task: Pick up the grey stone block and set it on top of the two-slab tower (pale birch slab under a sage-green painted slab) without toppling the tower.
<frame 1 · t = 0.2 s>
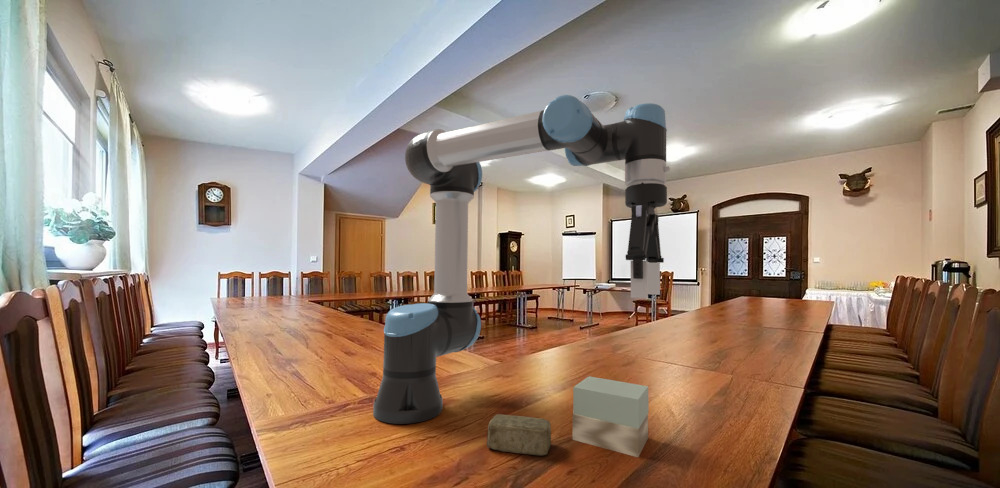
hand: (646, 296, 70), 27 cm above the table, fingers open, 13 cm apart
stone block: (519, 449, 67), on the table
tower top: (611, 413, 71), point 5 cm above the table, touching tower base
tower base: (610, 440, 71), on the table, touching tower top
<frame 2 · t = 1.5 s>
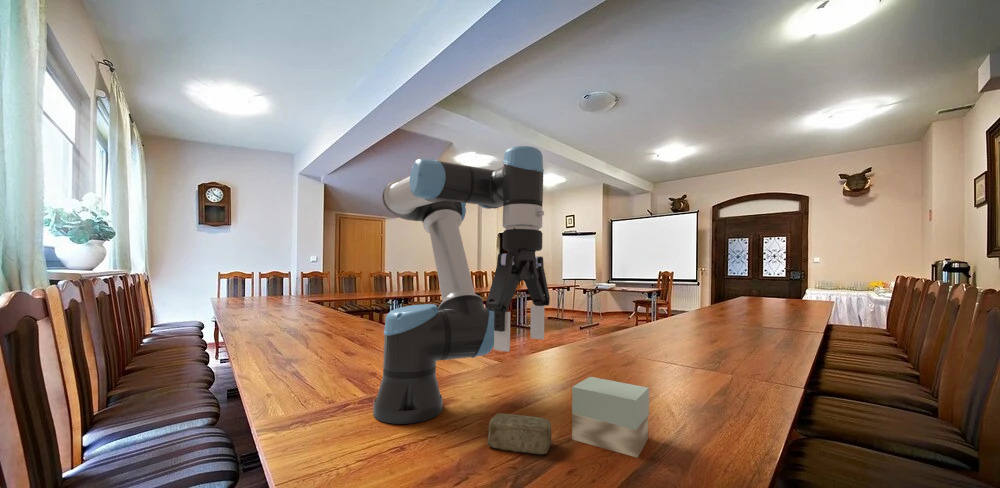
hand: (521, 344, 68), 18 cm above the table, fingers open, 13 cm apart
nothing on the table moved.
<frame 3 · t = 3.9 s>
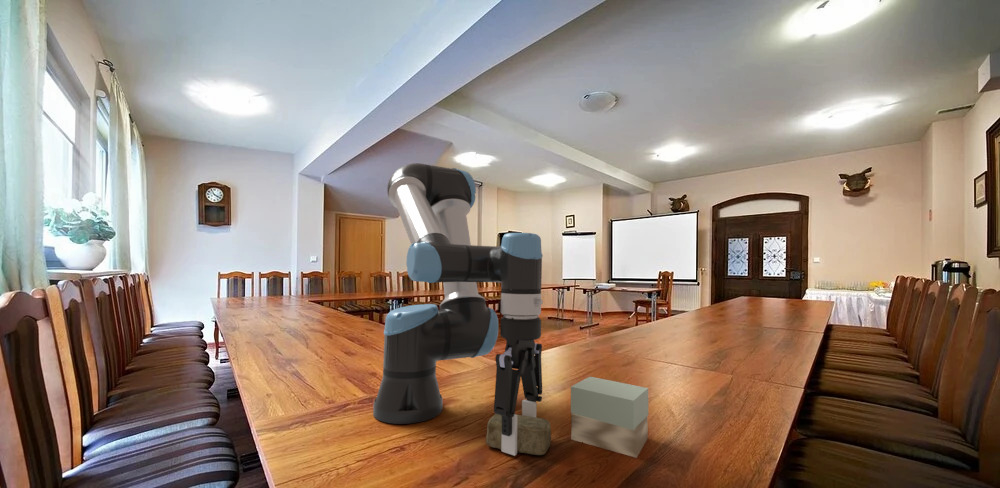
hand: (519, 444, 67), 1 cm above the table, fingers closed on stone block, 7 cm apart
stone block: (518, 448, 67), on the table, touching gripper
everything else where it was.
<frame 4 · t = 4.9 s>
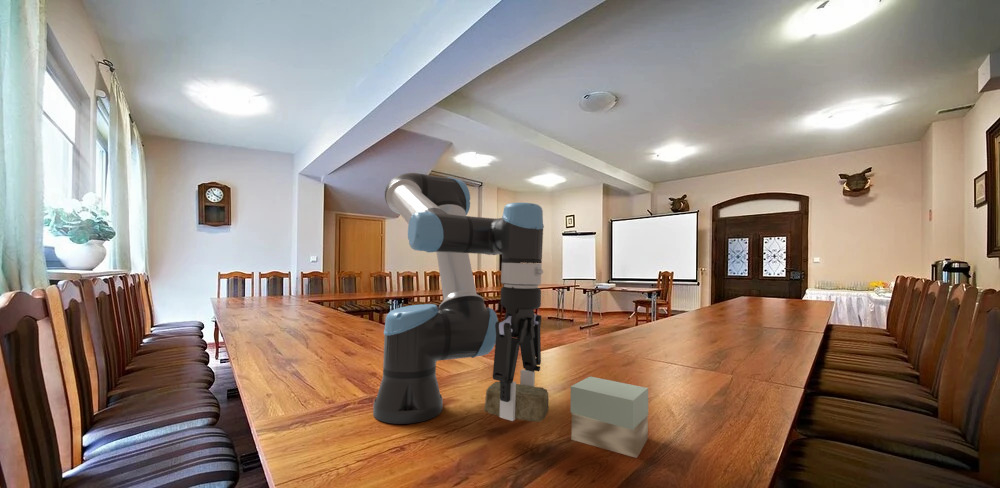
hand: (517, 411, 68), 6 cm above the table, fingers closed on stone block, 7 cm apart
stone block: (516, 415, 68), point 5 cm above the table, touching gripper
tower top: (609, 413, 71), point 5 cm above the table
tower base: (609, 440, 71), on the table
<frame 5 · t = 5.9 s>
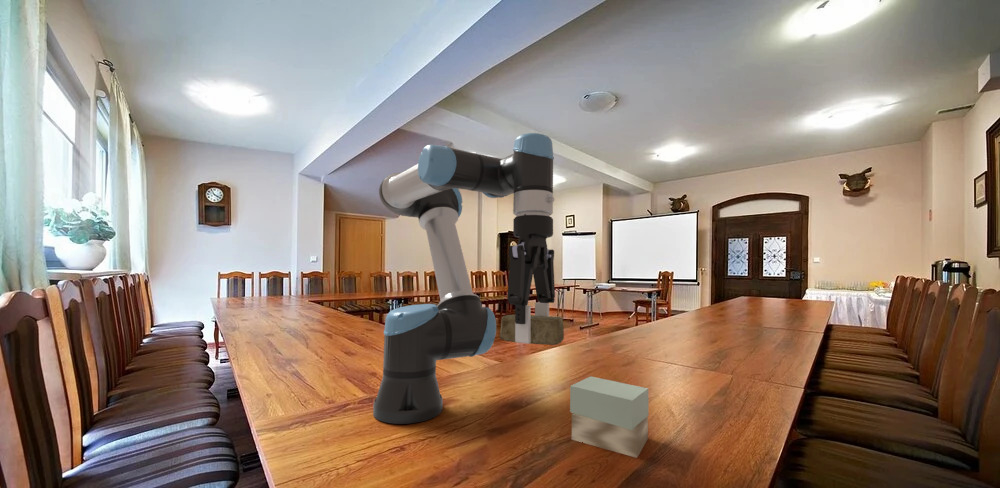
hand: (532, 339, 68), 19 cm above the table, fingers closed on stone block, 7 cm apart
stone block: (531, 343, 68), point 19 cm above the table, touching gripper
tower top: (609, 413, 71), point 5 cm above the table, touching tower base
tower base: (610, 440, 71), on the table, touching tower top
when the fingers open (12 cm above the table, at t = 8.7 s): stone block drops 2 cm, resting on tower top.
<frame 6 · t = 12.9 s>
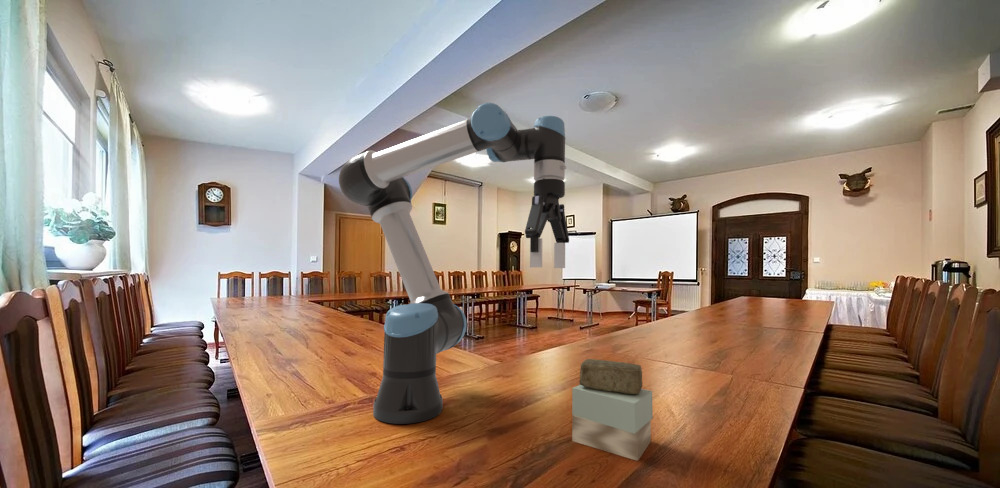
hand: (548, 267, 89), 33 cm above the table, fingers open, 13 cm apart
stone block: (610, 389, 71), point 9 cm above the table, touching tower top
tower top: (612, 416, 70), point 5 cm above the table, touching stone block, tower base
at the end: stone block 0.5 cm from the tower top (horizontally); stone block point 9.4 cm above the table; tower top tilted 0° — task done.
